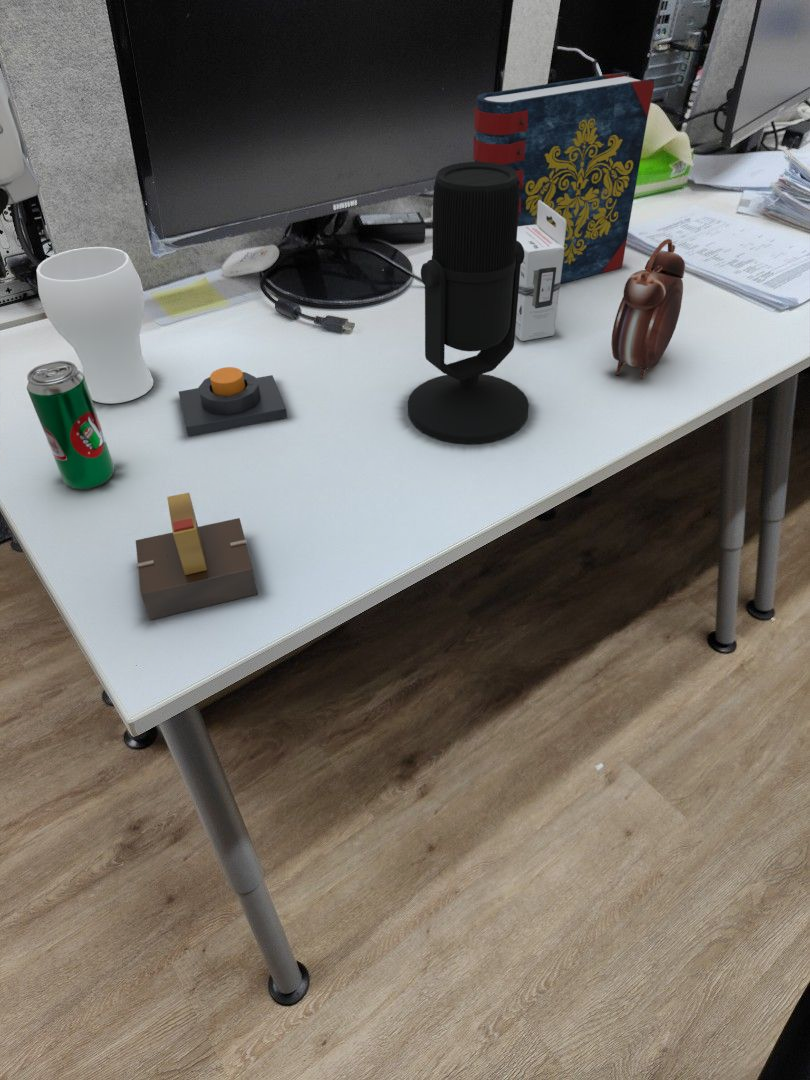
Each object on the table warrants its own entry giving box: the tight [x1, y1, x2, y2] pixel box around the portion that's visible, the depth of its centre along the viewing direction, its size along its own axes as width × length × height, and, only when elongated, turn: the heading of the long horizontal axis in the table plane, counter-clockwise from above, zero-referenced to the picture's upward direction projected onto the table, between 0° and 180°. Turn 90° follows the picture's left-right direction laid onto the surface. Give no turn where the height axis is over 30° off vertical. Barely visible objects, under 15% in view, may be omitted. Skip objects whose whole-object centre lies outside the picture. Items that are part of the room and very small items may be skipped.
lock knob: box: [166, 492, 207, 575], centre depth 63 cm, size 5×2×5 cm, turn 18°
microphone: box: [407, 161, 530, 445], centre depth 78 cm, size 14×14×25 cm
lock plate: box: [135, 517, 259, 621], centre depth 65 cm, size 9×7×3 cm
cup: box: [35, 246, 154, 404], centre depth 86 cm, size 11×11×15 cm
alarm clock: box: [610, 238, 686, 379], centre depth 87 cm, size 11×5×15 cm, turn 146°
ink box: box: [515, 200, 567, 342], centre depth 96 cm, size 8×5×15 cm, turn 17°
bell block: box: [178, 371, 288, 437], centre depth 86 cm, size 11×8×3 cm
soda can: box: [26, 360, 115, 490], centre depth 74 cm, size 5×5×12 cm
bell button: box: [209, 366, 245, 396], centre depth 85 cm, size 4×4×2 cm
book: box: [472, 71, 655, 285], centre depth 104 cm, size 25×7×25 cm, turn 119°
